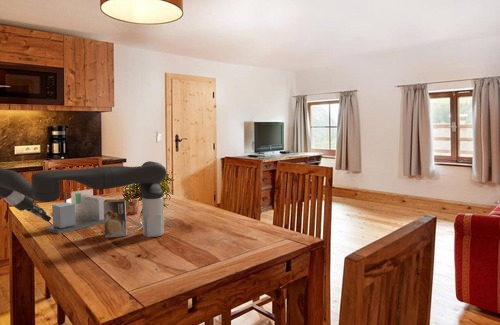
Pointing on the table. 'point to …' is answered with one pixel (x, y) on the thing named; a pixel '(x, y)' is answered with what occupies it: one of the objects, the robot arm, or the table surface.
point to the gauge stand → (83, 211)
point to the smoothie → (132, 207)
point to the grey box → (63, 214)
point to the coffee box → (115, 218)
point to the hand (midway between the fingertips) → (49, 219)
